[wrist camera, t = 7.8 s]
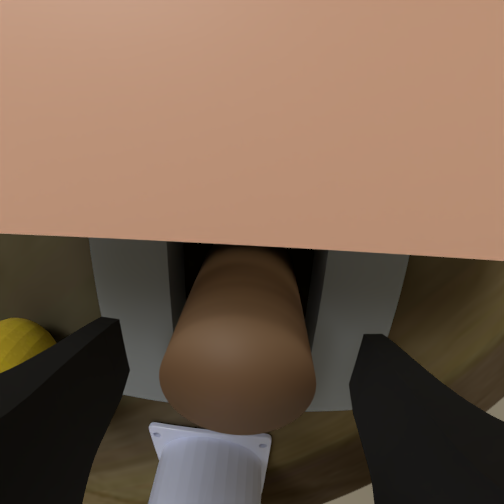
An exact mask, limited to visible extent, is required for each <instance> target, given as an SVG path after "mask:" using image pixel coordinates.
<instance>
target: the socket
mask: <svg viewBox="0 0 504 504" xmlns="http://www.w3.org/2000/svg"><path fill="white" fill-rule="evenodd" d="M89 244H90V252H91V259H92V266H93V272H94V278H95V284H96V290H97V295H98V301H99V306H100V311H101V316H102V317H108V318H115V319H119V320H120V325H121V330H122V335H123V340H124V345H125V350H126V354H127V359H128V363H129V368H130V372H129V375H128V379H127V382H126V386H125V389H124V392H123V395H128V396H133V397H139V398H144V399H150V400H157V401H163V402H168V401H167V399H166V398H165V396H164V394H163V392H162V389H161V386H160V381H159V370H160V365H161V362H162V360H163V357H164V355H165V352H166V350H167V347H168V345H169V342H170V340H171V337H172V335H173V332H174V330H175V327H176V325H177V323H178V320H179V318H180V315H181V313H182V311H183V308H184V306H185V303H186V291H185V270H184V242H175V241H155V240H135V239H114V238H93V237H89ZM408 260H409V255H405V254H388V253H372V252H355V251H338V250H321V249H315V250H314V258H313V265H312V273H311V281H310V288H309V295H308V302H307V309H306V315H305V325H306V329H307V334H308V339H309V345H310V350H311V355H312V360H313V365H314V370H315V376H316V392H315V395H314V398H313V400H312V402H311V404H310V406H309V407H308V408H307V410H306V411H305V412H310V411H341V410H352V403H351V397H350V390H349V382H350V379H351V375H352V372H353V369H354V366H355V362H356V359H357V356H358V352H359V349H360V345H361V342H362V338H363V334H383V335H385V336H386V337H387V338H388V334H389V331H390V328H391V325H392V321H393V318H394V314H395V311H396V307H397V304H398V300H399V296H400V293H401V289H402V285H403V281H404V277H405V273H406V269H407V264H408Z"/></svg>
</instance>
